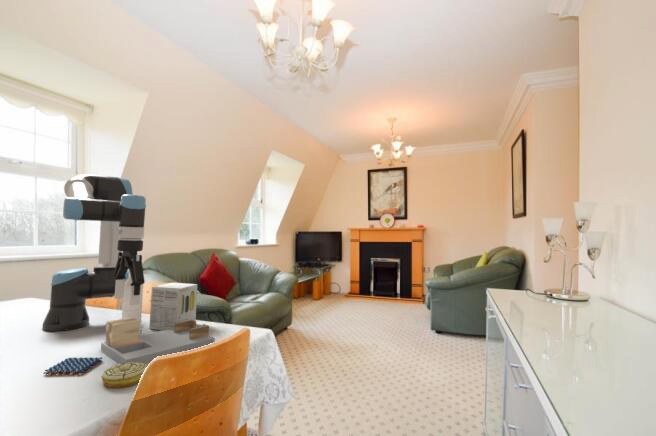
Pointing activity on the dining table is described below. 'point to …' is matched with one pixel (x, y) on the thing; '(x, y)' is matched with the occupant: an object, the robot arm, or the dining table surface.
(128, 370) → the decorated donut
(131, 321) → the block
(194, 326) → the walls
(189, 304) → the supplement box
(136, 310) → the water bottle
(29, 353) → the dining table surface
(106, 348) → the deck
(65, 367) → the woven mat
